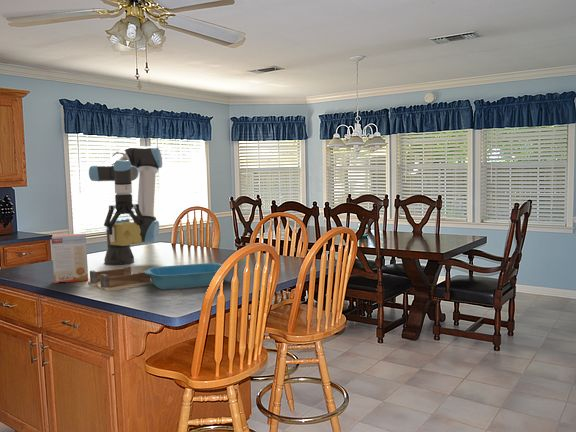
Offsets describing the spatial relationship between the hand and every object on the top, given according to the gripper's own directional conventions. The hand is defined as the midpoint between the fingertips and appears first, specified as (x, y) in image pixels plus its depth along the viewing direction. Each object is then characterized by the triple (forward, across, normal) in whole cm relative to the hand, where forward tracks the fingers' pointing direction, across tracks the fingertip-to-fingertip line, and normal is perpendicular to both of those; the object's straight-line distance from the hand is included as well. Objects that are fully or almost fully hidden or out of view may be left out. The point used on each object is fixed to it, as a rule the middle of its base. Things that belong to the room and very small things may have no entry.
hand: (125, 240), depth 242 cm
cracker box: (+17, -24, +5) cm, 29 cm away
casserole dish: (+17, +11, -38) cm, 43 cm away
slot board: (+16, -7, -16) cm, 24 cm away
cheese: (+2, 0, 0) cm, 2 cm away
